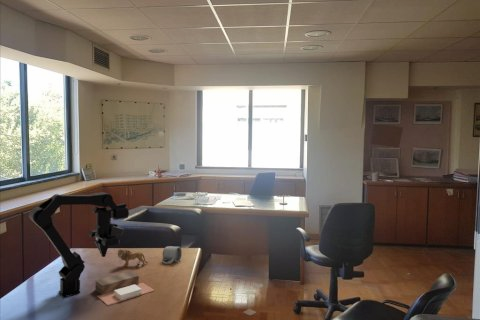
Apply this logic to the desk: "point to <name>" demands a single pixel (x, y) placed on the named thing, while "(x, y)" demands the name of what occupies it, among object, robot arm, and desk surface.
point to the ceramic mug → (171, 254)
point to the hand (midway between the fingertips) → (103, 256)
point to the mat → (112, 299)
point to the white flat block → (127, 292)
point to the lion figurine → (130, 256)
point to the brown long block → (116, 282)
